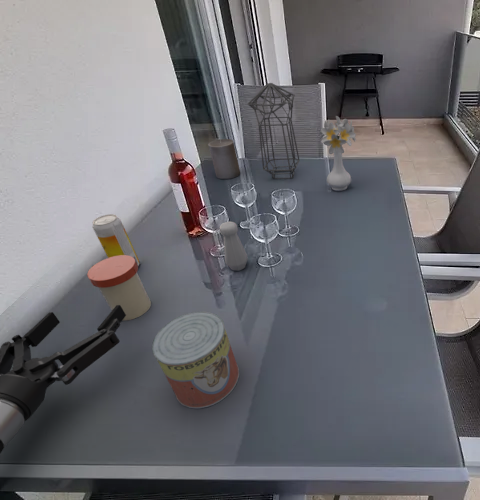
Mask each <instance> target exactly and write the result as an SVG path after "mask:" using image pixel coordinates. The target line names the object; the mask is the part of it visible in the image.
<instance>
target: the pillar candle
mask: <svg viewBox="0 0 480 500" xmlns="http://www.w3.org/2000/svg"><path fill="white" fill-rule="evenodd" d="M207 146H208V149H209V153H210V156H211V160H212V161H211V162H212V164H213V168H214V172H215V177H216V178H217V179H219V180H231V179H235V178H237V177H239V176H240V174H241V170H240V167H239V166H240V165H239V160H238V157H237V151H236V147H235V142H234V140H233V139H230V138H219V139H215V140H212V141H210V142H208V144H207Z"/></svg>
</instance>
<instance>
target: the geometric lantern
mask: <svg viewBox="0 0 480 500" xmlns="http://www.w3.org/2000/svg"><path fill="white" fill-rule="evenodd" d="M264 92H265V95H263V94H264ZM285 93H286V94H285ZM268 94H269V96H268ZM275 94H277V96H275ZM295 96H296V95H295V94H294V93H292V92H290V91H288V90H286V89H284V88H282V87H281V86H278V85H277V84H274V83H273V82H266V84H264V86H263V87H262V88H261V90H260V91H259V92H257V94H255V96H254V97H252V98H251V99H250V100H249V101H248V102H247V105H248V106H249V107H250V108H251V109H252V110H254V114H255V118H256V121H257V123H258V124H257V125H258V134H259V135H258V136H259V144H260V154H261V162H262V170H263V171H265V172H267V173H269V174H270V175H271V178H272V179H273V180H278V179H279V180H281V179H282V180H283V179H284V180H287V179H289V180H290V179H293V178H294V176H295V170H296V169H297V167H298V165H299V163H300V155H299V150H298V146H297V145H298V144H297V140H296V139H297V138H296V134H295V130H294V125H293V108H294V100H295ZM260 98H261V99H262V100H263V101H262V103H258V100H259V99H260ZM272 99H273V102H272ZM276 99H280V103H279V102H278V103H276ZM266 102H268V103H269V104H265V103H266ZM285 105H288V113H287V111H286V109H285V108H284V106H285ZM258 106H261V107H262V110H261V109H260V108H258ZM275 106H278V107H277V108H275V109H274V107H275ZM265 107H270V111H268V112H266V111H265ZM281 108H282V110H283V111H284V112H285V114H286V116H278V115H277V114H276V112H277V111H278V110H280V109H281ZM257 111H258V112H259V113H260V114H261V115H262V119H261V120H259V117H258V113H257ZM271 114H273V115H274V116H273V117H272V116H271ZM266 115H268V116H267V117H266ZM270 119H277V121H278V122H279V123H280V124H277V123H276V124H275V123H274V124H271V120H270ZM281 119H286V121H285V123H283V121H282V120H281ZM266 120H267V121H268V122H267V123H268V124H266ZM272 126H273V127H274V126H275V127H276V126H277V127H278V126H281V129H282V136H283V141H284V147H285V153H286V158H285V157H284V158H283V157H282V158H275V152H274V144H273V136H272V129H271V127H272ZM284 126H286V131H287V136H288V141H289V146H290V151H291V157H289V152H288V146H287V145H288V144H287V140H286V139H287V138H286V134H285V129H284ZM262 127H264V133H265V141H264V134H263V128H262ZM267 127H268V129H269V137H270V144H271V151H272V157H273V158H271V159H270V153H269V151H270V150H269V144H268V143H269V142H268V133H267ZM265 144H266V145H265ZM265 146H266V147H265ZM295 150H296V153H295ZM296 156H297V158H296ZM264 160H265V161H264ZM285 160H286V161H287V163H288V164H287V165H283V166H277V164H276V161H285ZM290 160H292V162H291V163H290ZM272 161H273V163H274V165H273V163H272ZM264 164H265V165H264ZM269 164H270V165H271V166H272V167H273V169H269ZM277 168H278V169H277ZM279 168H288V169H279ZM277 172H278V173H277ZM279 172H280V173H279ZM276 175H289V177H276Z"/></svg>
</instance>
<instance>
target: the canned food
mask: <svg viewBox="0 0 480 500" xmlns="http://www.w3.org/2000/svg"><path fill="white" fill-rule="evenodd" d="M151 351H152V354H153V357H154V358H155V359H156V360H157V362H158V364H159V366H160V368H161V370H162V372H163V374H164V376H165V377H166V380H167V381H168V384H169V385H170V387H171V389H172V391H173V393H174V395H175V398H176V400H177V402H178V403H179V404H180V405H182V406H184V407H186V408H190V409H194V410H195V409H198V410H199V409H205V408H208V407H209V408H210V407H212V406H214V405H216V404H218V403H220V402H221V401H223V400H225V398H227V397H228V396H229V395H230V394H231V393H232V391H233V390H234V389H235V387H236V385H237V384H238V381H239V377H240V367H239V365H238V362H237V361H236V357H235V355H234V351H233V349H232V346H231V342H230V339H229V336H228V334H227V330H226V326H225V323H224V320H223V319H222V318H221V316H219V315H217V314H215V313H214V312H209V311H194V312H189V313H185V314H183V315H180V316H178V317H176V318H174V319H172V320H171V321H169V322H168V323H167V324H165V325H164V326H163V327H162V328H161V329H160V330H159V331H158V332H157V334H156V335H155V337H154V339H153V342H152V345H151Z"/></svg>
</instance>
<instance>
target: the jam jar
mask: <svg viewBox="0 0 480 500" xmlns="http://www.w3.org/2000/svg"><path fill="white" fill-rule="evenodd" d="M97 289H98V290H99V291H100V293H101V295H102V296H103V299H104V300H105V302H106V304H107V305H108V307H109V309H110V312H111V311H112V310H113V309H114V308H115V306H116V305H120V306H121V307H122V309H123V311H124V312H125V314H126V316H125V318H124V319H123V320H122V321H132V320H134V319H137V318H139V317H141V316H143V315H144V314H146V313H147V312H148V311H149V309H150V308H151V306H152V301H151V298H150V297H149V294H148V292H147V290H146V288H145V286H144V284H143V282H142V280H141V278H140V275H139V274H138V272H137V273H136V274H135V275H134V276H133V277H132V278H130V279H129V280H127V281H125V282H123V283H121V284H119V285H116V286H112V287H105V288H100V287H97ZM122 321H121V322H122Z"/></svg>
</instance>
